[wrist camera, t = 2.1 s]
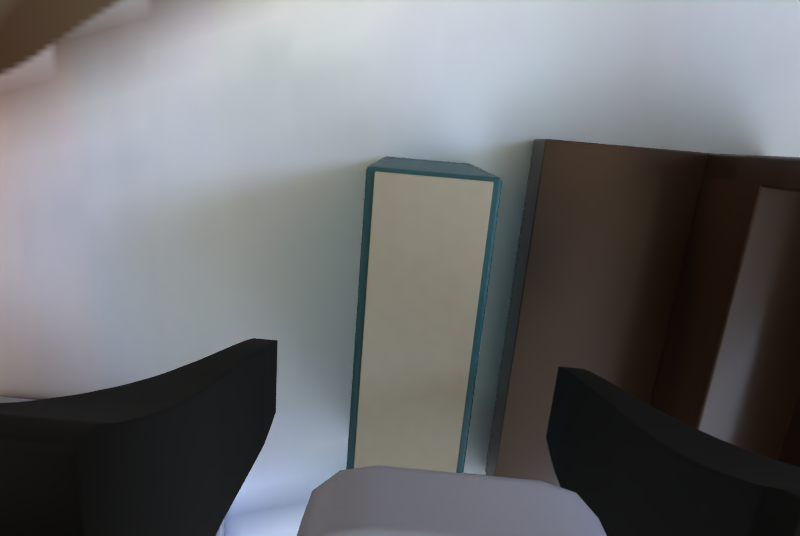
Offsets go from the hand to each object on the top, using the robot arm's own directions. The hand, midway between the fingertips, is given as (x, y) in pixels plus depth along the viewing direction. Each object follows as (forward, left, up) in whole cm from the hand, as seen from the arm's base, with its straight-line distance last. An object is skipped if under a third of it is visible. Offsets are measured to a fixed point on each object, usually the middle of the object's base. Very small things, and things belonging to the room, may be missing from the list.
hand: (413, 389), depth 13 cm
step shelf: (+7, 0, -6) cm, 10 cm away
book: (0, 0, -6) cm, 6 cm away
